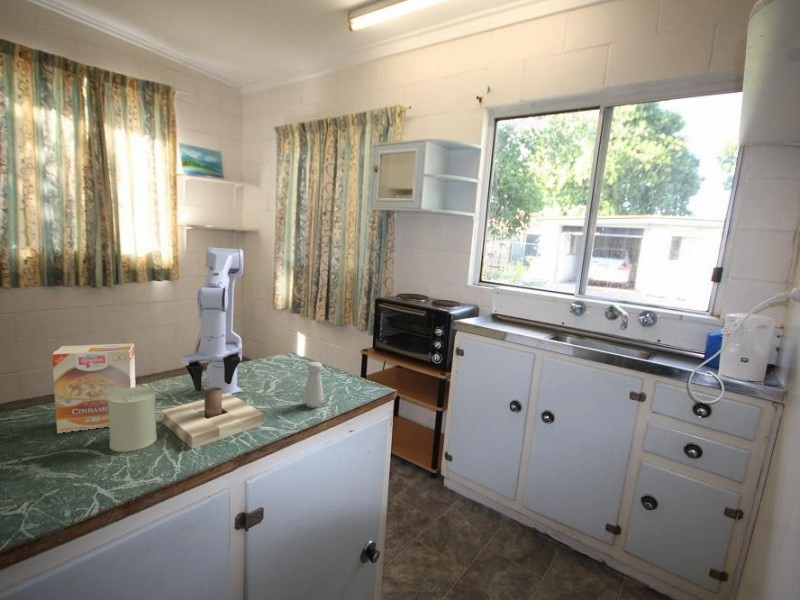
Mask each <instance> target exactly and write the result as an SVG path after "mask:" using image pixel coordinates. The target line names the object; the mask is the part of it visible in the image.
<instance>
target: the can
mask: <svg viewBox="0 0 800 600" xmlns="http://www.w3.org/2000/svg"><path fill="white" fill-rule="evenodd" d="M156 393H157V391H156V390H155V389H154V388H152V387H147V386H135V387H132V388H126V389H122V390H118V391H116V392H113V393H112V394H110V395H109V396H108V407H109V426H110V427H109V444H108V445H109V448H110V449H111V450H112V451H114V452H121V453H122V452H124V453H126V452H134V451H139V450H142V449H144V448H147V447H148V446H149V447H150V446H151V445H152V444H154V443H155V442H156V441H157V439H158V434H157V422H156V421H157V419H156V418H157V414H156Z"/></svg>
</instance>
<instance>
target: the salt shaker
mask: <svg viewBox="0 0 800 600" xmlns="http://www.w3.org/2000/svg"><path fill="white" fill-rule="evenodd" d="M322 371H323V363H321V362H319V361H311V362H309V363H308V364H307V372H308V375H307V381H306V385H305V389H304V394H303V402H304V403H305V405H306V407H308V408H309V407H310V408H311V409H315V407H317V408H319V407H320V406H321V405H322V402H323V401H324V390H323V383H322V382H323V381H322V376H321V372H322Z"/></svg>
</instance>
